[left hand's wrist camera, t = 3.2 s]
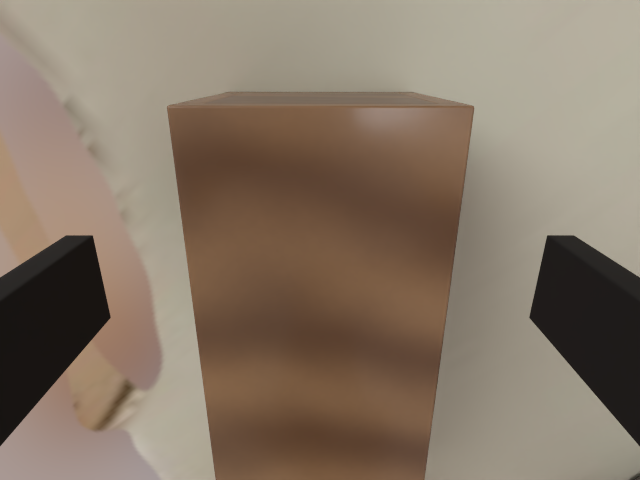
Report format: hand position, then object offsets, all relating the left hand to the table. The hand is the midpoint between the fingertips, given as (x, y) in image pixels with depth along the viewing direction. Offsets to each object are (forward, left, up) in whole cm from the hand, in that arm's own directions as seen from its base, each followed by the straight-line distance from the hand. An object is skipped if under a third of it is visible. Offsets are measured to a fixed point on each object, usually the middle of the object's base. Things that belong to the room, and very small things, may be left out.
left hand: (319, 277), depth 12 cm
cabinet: (+6, -2, -17) cm, 18 cm away
